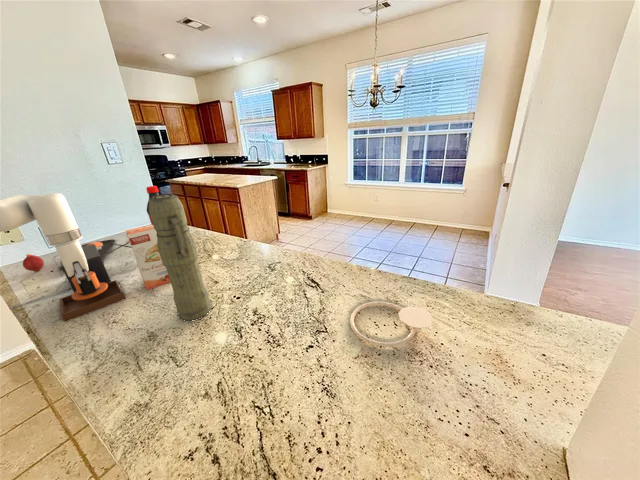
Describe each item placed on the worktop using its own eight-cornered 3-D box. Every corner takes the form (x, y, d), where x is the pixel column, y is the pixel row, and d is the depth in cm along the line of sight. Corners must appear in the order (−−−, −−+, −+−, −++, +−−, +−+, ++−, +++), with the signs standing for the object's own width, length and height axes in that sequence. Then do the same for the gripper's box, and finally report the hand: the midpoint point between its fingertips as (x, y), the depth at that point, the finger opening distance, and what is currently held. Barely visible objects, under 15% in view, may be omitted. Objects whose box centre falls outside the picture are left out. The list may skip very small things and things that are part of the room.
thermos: (200, 297, 85) (170, 190, 71) (220, 311, 78) (191, 194, 64) (172, 312, 79) (134, 197, 65) (190, 328, 72) (152, 203, 58)
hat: (73, 304, 78) (64, 287, 76) (71, 292, 84) (63, 276, 82) (110, 290, 84) (102, 274, 82) (105, 281, 90) (99, 266, 88)
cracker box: (147, 291, 90) (126, 234, 82) (144, 284, 94) (124, 229, 86) (190, 276, 98) (175, 223, 90) (185, 270, 102) (171, 219, 94)
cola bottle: (185, 250, 121) (167, 184, 109) (167, 257, 114) (146, 189, 102) (174, 247, 125) (155, 183, 113) (156, 254, 118) (135, 187, 106)
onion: (32, 270, 110) (22, 252, 107) (49, 266, 112) (41, 249, 109) (24, 276, 105) (14, 258, 102) (43, 272, 107) (34, 255, 104)
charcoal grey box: (76, 297, 88) (61, 266, 84) (73, 281, 99) (59, 252, 95) (112, 285, 95) (100, 255, 90) (105, 271, 106) (94, 243, 101)
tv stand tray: (64, 322, 77) (60, 315, 76) (62, 305, 85) (59, 298, 84) (125, 298, 86) (123, 292, 85) (118, 285, 95) (116, 279, 94)
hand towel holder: (358, 287, 78) (433, 299, 71) (358, 300, 80) (431, 313, 72) (341, 324, 63) (433, 345, 56) (342, 338, 65) (431, 360, 58)
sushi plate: (82, 248, 129) (79, 241, 128) (152, 235, 141) (150, 229, 139) (58, 274, 105) (53, 265, 104) (144, 256, 116) (141, 249, 115)
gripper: (46, 233, 80) (71, 284, 87) (46, 248, 69) (75, 305, 76) (78, 226, 85) (99, 275, 92) (83, 239, 73) (107, 293, 80)
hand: (88, 288), depth 84 cm, fingers closed on hat, 5 cm apart
